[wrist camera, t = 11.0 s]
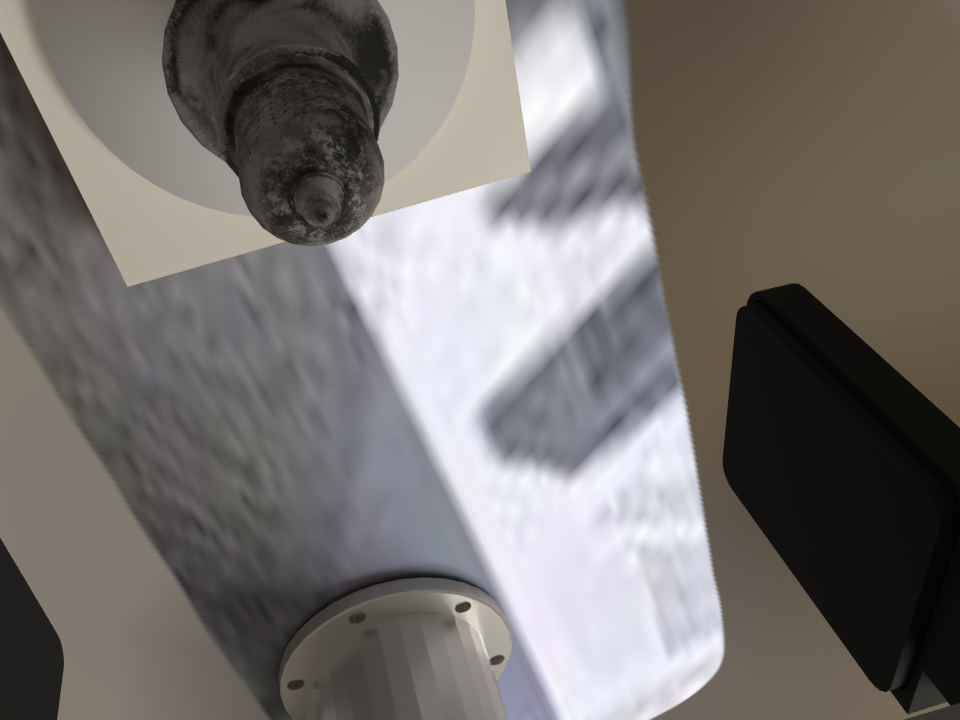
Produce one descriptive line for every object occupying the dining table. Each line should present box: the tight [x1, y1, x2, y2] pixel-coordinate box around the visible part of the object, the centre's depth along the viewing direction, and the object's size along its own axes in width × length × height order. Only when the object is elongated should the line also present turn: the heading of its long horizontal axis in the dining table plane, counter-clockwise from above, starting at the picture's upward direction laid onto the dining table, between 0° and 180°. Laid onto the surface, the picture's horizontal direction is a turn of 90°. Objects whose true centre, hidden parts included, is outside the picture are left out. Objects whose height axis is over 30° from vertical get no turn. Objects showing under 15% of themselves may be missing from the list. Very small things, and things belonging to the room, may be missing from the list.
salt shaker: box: [162, 0, 399, 246], centre depth 21 cm, size 6×6×12 cm
